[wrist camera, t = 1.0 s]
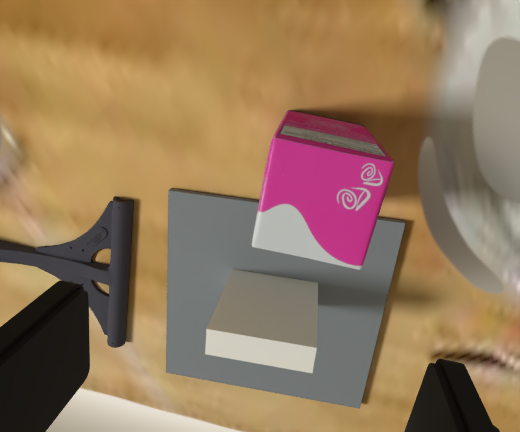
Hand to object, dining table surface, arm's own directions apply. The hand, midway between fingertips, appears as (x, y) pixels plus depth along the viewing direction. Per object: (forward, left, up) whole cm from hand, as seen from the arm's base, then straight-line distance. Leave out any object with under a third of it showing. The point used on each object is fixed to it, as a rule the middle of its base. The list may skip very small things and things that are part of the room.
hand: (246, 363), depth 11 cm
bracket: (+11, -21, -22) cm, 32 cm away
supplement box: (-1, +1, -21) cm, 21 cm away
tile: (+10, -1, -20) cm, 22 cm away
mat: (+12, -1, -21) cm, 24 cm away
